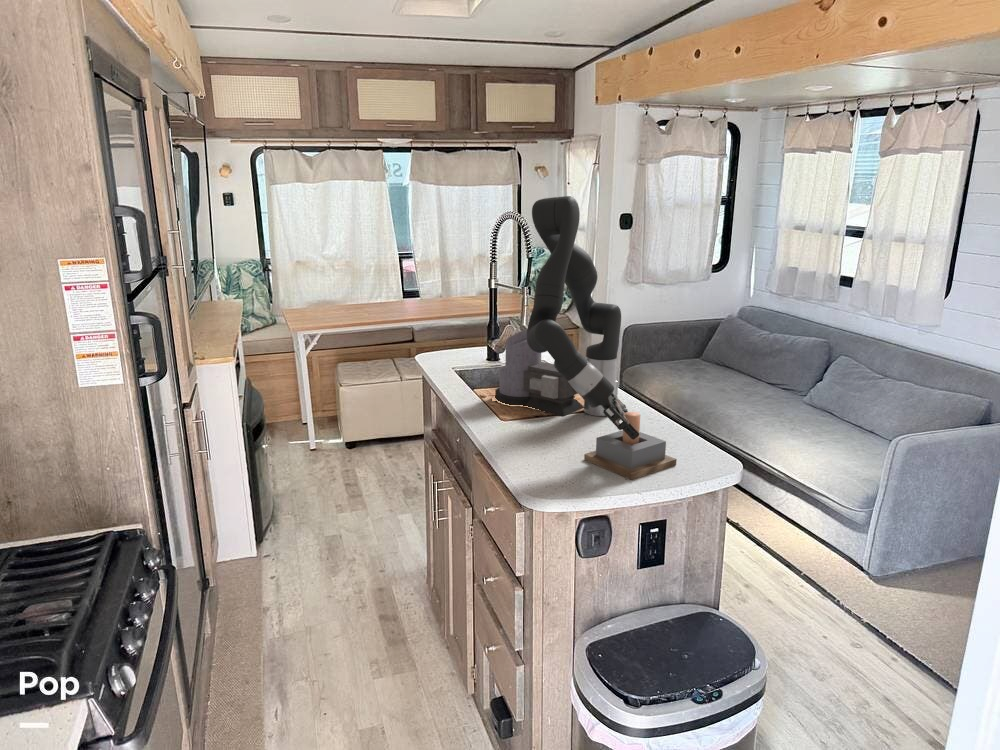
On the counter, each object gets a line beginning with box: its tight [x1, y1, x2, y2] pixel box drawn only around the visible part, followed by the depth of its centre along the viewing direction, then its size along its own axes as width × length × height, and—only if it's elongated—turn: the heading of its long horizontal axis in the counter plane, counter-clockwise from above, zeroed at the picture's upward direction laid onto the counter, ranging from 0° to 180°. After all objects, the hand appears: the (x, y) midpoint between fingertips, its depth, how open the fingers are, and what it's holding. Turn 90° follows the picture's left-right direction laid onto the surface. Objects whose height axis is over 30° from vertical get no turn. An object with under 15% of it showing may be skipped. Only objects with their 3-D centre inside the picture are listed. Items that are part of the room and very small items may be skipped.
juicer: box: [494, 328, 584, 418], centre depth 223 cm, size 30×16×24 cm, turn 52°
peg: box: [622, 411, 641, 445], centre depth 176 cm, size 4×4×11 cm
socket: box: [595, 429, 667, 469], centre depth 177 cm, size 12×12×4 cm
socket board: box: [583, 450, 677, 481], centre depth 178 cm, size 16×16×2 cm
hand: (635, 431), depth 176 cm, fingers open, 8 cm apart
